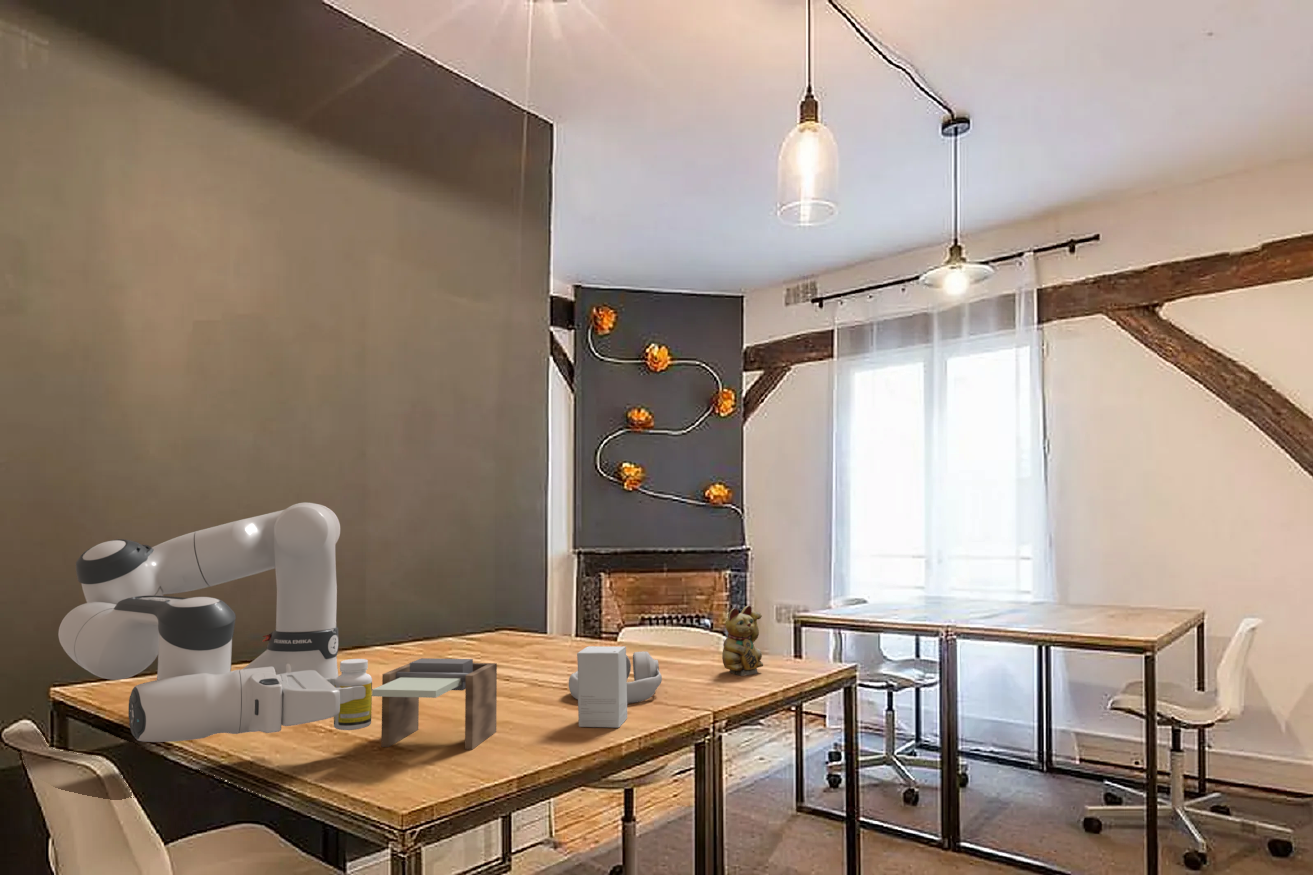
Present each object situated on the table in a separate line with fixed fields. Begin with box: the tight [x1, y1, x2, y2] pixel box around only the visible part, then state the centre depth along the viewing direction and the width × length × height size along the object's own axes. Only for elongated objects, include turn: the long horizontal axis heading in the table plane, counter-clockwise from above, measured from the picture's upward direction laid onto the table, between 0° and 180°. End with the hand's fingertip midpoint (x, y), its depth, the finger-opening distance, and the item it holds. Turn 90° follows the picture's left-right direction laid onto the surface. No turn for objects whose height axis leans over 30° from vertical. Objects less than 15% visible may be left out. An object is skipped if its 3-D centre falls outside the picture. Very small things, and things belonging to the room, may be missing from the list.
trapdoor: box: [372, 657, 474, 699], centre depth 134 cm, size 16×12×4 cm
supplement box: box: [576, 645, 628, 729], centre depth 149 cm, size 7×7×13 cm
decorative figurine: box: [721, 605, 764, 676], centre depth 194 cm, size 10×8×15 cm
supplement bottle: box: [333, 658, 373, 731], centre depth 131 cm, size 5×5×10 cm
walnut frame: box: [380, 662, 498, 751], centre depth 140 cm, size 11×15×11 cm
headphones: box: [568, 651, 663, 705], centre depth 173 cm, size 18×8×20 cm
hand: (359, 687), depth 131 cm, fingers closed on supplement bottle, 5 cm apart
